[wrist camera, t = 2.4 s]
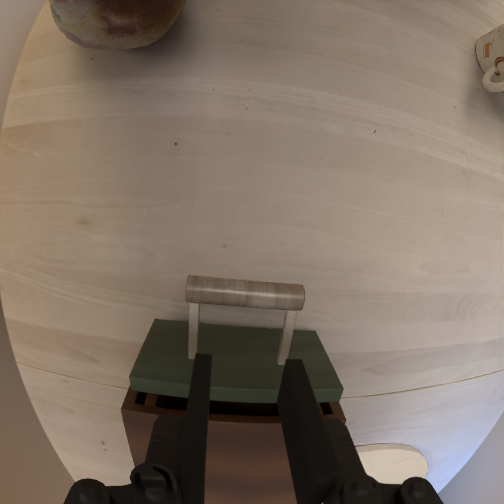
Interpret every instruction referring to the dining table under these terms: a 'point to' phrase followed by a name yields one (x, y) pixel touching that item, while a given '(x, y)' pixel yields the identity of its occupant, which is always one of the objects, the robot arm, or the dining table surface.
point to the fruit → (115, 21)
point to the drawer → (232, 352)
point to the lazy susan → (392, 462)
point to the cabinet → (229, 451)
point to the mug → (492, 59)
